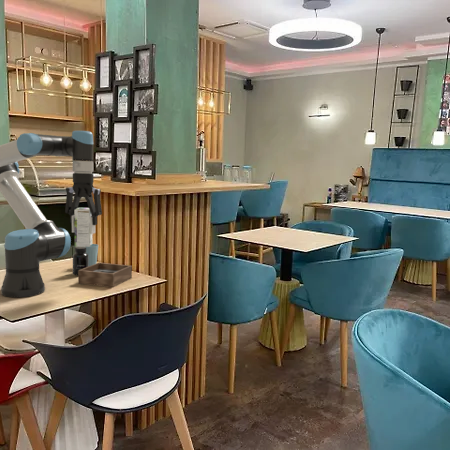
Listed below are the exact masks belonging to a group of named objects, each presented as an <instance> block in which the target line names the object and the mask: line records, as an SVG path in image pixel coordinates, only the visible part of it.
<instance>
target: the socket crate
mask: <svg viewBox="0 0 450 450" xmlns="http://www.w3.org/2000/svg"><path fill="white" fill-rule="evenodd" d="M132 270H133V267H132V265H129V264H128V265H125V264H118V263H117V264H116V263H107V262H97V263H96V264H94V265H91V266H89V267H86V268H83V269H81V270H78V275H77V278H78V282H77V283H78V284H80V285H87V286H88V285H89V286H90V285H91V286H97V287H98V286H99V287H105V288H115V287H117V286H119V285H121V284H122V283H123V284H124V283H125V282H127V281H128V280H129V281H130V280H131V279H132V278H133V277H132V276H133V273H132Z"/></svg>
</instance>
